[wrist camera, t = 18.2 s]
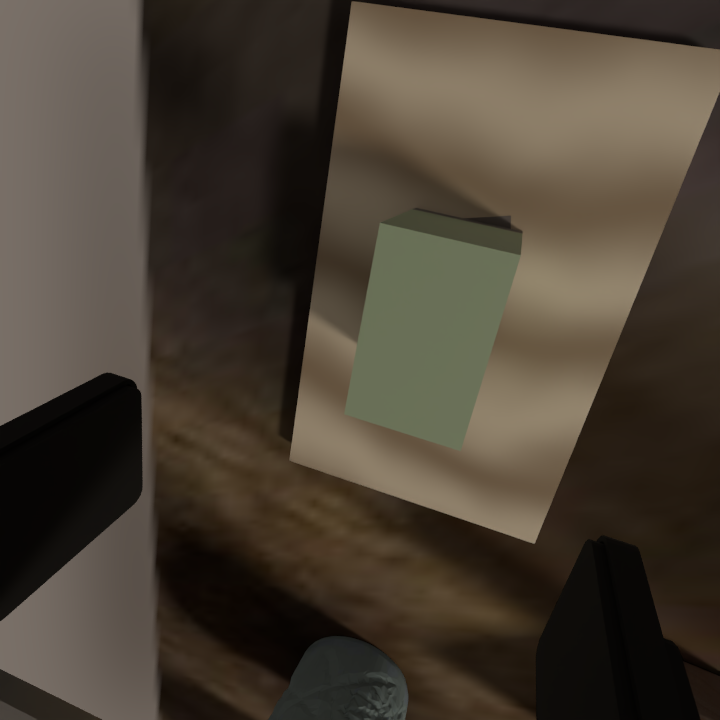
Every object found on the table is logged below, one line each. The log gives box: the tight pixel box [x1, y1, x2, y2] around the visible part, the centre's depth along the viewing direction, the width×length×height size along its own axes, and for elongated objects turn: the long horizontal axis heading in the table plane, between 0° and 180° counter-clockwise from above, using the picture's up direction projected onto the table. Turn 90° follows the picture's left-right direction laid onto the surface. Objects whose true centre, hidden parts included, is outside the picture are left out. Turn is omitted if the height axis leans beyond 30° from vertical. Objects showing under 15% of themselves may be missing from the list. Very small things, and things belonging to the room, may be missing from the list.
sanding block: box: [344, 208, 523, 451], centre depth 22 cm, size 8×5×6 cm, turn 170°
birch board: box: [289, 1, 720, 544], centre depth 26 cm, size 24×15×2 cm, turn 170°
